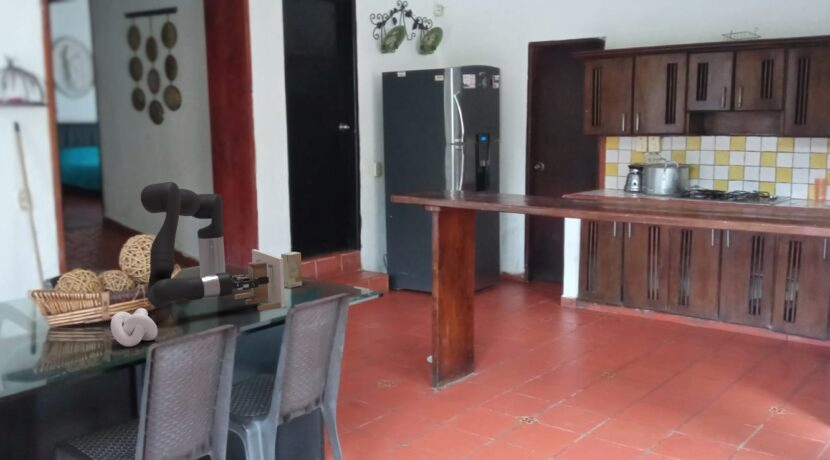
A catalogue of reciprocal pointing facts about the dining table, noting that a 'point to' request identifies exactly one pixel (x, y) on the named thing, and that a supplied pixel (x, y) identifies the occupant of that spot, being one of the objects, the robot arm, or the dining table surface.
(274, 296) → the white upright flat panel
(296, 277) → the skincare box
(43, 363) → the dining table surface
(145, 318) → the white knot sculpture
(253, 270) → the frame block
